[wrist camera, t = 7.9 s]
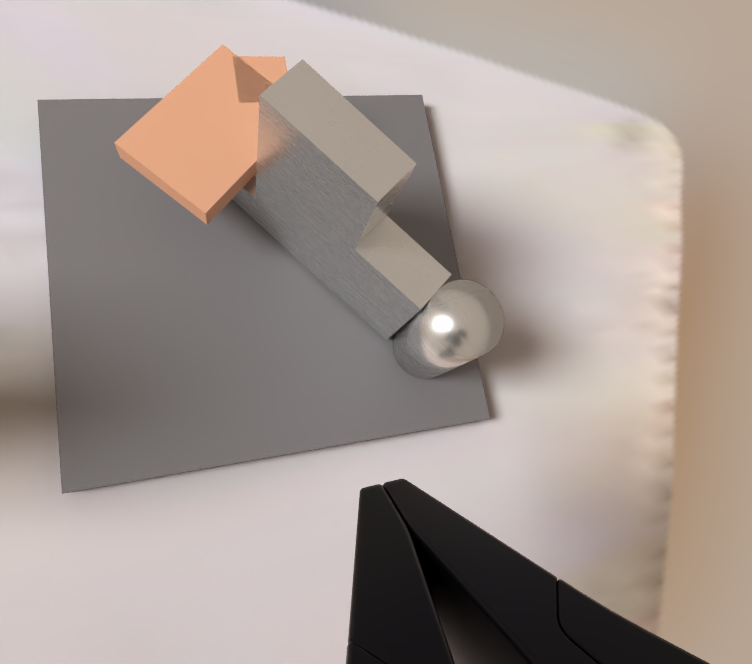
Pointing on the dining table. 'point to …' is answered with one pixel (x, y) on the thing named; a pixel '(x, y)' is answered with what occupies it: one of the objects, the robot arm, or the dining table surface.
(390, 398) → the board
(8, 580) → the dining table surface
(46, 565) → the dining table surface
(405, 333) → the link
